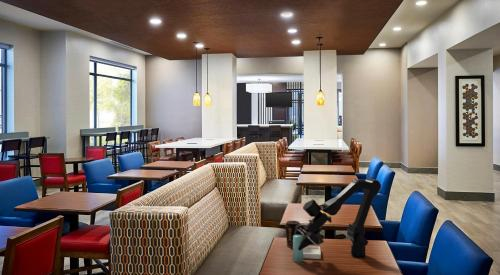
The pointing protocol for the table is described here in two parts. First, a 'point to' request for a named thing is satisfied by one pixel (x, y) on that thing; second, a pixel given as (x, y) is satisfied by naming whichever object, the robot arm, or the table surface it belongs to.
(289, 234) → the coffee cup
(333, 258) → the table surface
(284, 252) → the table surface
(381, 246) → the table surface
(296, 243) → the teal cylinder
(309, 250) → the tray
